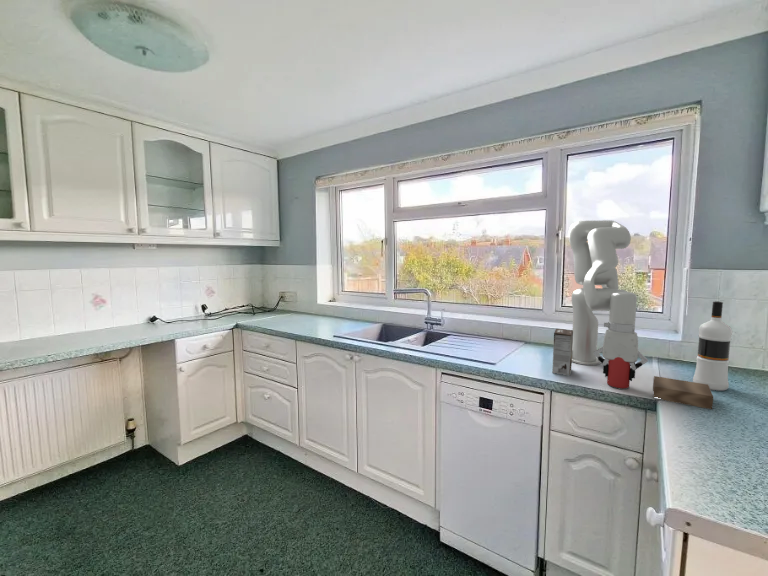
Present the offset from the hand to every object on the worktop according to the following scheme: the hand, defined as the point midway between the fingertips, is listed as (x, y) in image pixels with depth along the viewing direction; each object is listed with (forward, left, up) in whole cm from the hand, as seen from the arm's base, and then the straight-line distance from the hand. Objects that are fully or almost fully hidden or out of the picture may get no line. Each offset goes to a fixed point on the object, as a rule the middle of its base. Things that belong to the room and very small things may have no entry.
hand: (618, 377), depth 126 cm
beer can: (0, 0, -3) cm, 3 cm away
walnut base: (+17, 0, -3) cm, 17 cm away
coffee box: (-19, +6, -3) cm, 20 cm away
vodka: (+26, +18, -3) cm, 32 cm away
